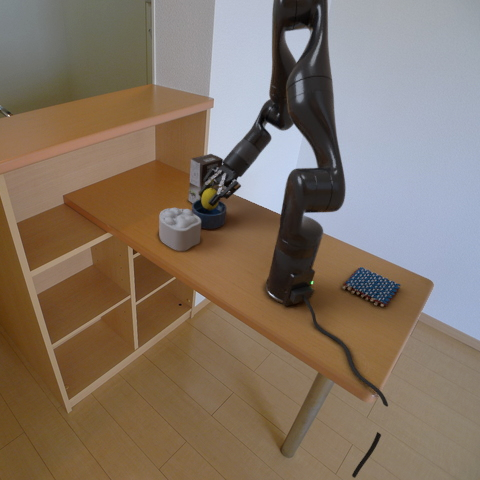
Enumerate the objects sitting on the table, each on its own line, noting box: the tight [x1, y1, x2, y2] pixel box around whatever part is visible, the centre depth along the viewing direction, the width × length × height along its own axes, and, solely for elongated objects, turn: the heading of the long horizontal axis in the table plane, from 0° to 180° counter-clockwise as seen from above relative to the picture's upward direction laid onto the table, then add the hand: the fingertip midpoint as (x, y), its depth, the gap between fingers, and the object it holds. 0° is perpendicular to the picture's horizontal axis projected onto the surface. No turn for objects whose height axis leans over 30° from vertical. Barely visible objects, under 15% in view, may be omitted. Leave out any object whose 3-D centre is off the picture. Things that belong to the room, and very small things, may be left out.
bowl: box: [191, 199, 228, 230], centre depth 117 cm, size 11×11×6 cm
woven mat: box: [342, 266, 402, 308], centre depth 91 cm, size 10×11×2 cm
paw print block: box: [158, 207, 202, 252], centre depth 109 cm, size 10×13×9 cm
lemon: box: [201, 188, 220, 211], centre depth 114 cm, size 6×6×8 cm
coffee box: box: [188, 153, 224, 204], centre depth 125 cm, size 9×6×16 cm
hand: (205, 200), depth 114 cm, fingers closed on lemon, 5 cm apart
